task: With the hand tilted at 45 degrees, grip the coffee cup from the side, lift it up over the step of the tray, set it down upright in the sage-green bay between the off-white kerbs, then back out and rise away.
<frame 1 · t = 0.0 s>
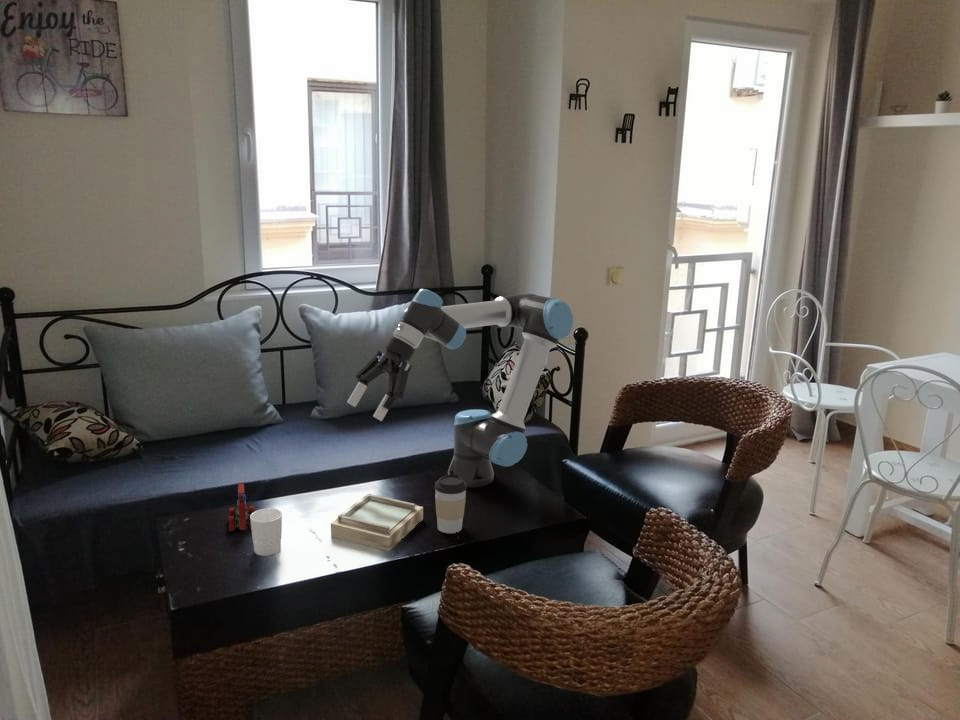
hand: (363, 411, 190), 36 cm above the table, tool tilted 35°, fingers open, 13 cm apart
coffee cup: (449, 528, 205), on the table
tray: (378, 527, 203), on the table
toy fire truck: (242, 525, 202), on the table
white cup: (267, 550, 190), on the table
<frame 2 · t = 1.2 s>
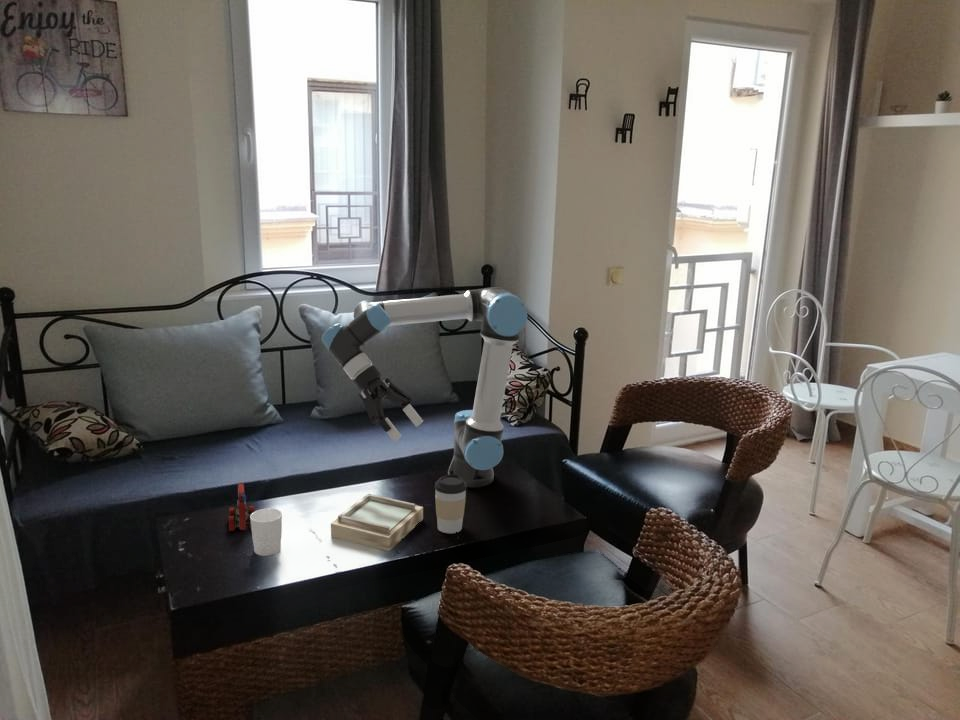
hand: (409, 431, 202), 27 cm above the table, tool tilted 45°, fingers open, 13 cm apart
nothing on the table moved.
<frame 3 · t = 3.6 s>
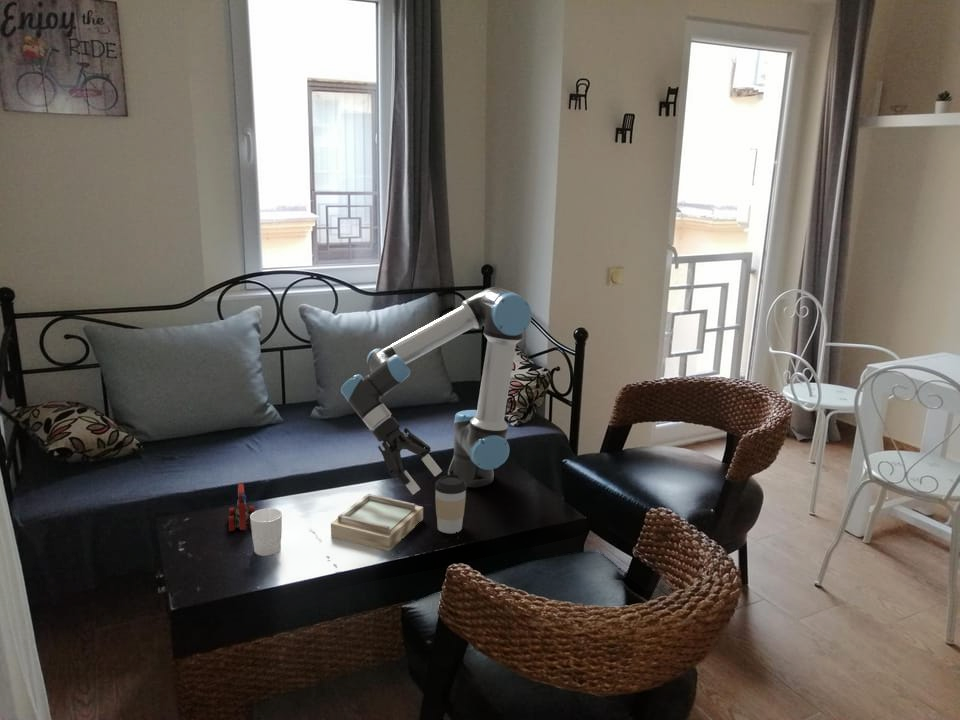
hand: (428, 482, 203), 13 cm above the table, tool tilted 45°, fingers open, 13 cm apart
nothing on the table moved.
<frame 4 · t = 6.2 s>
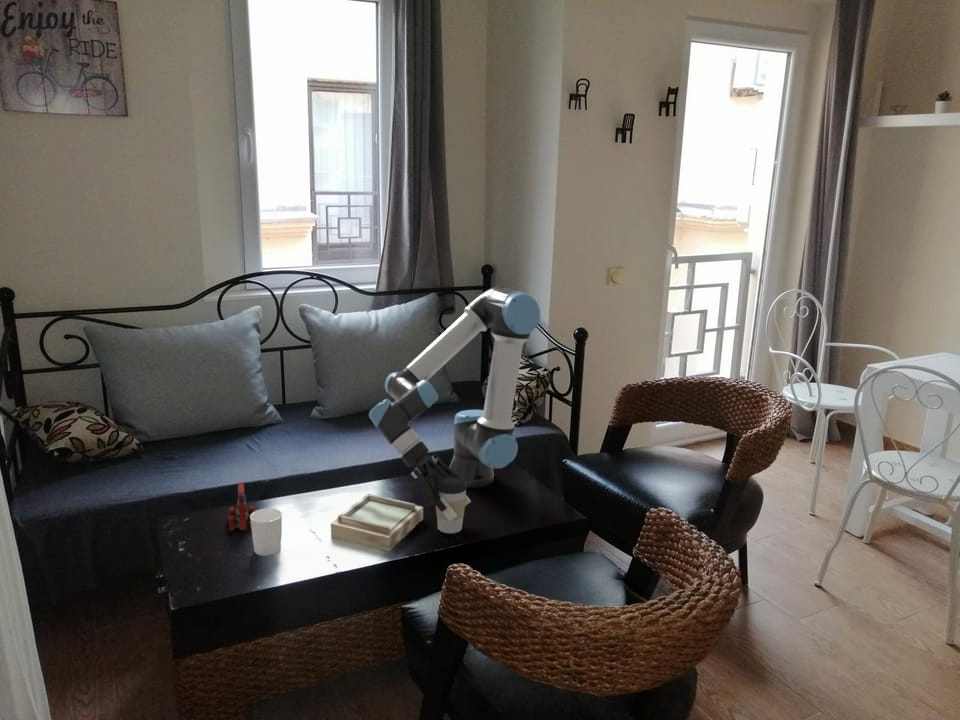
hand: (460, 511, 202), 6 cm above the table, tool tilted 45°, fingers closed on coffee cup, 9 cm apart
coffee cup: (449, 528, 205), on the table, touching gripper
everything else where it was.
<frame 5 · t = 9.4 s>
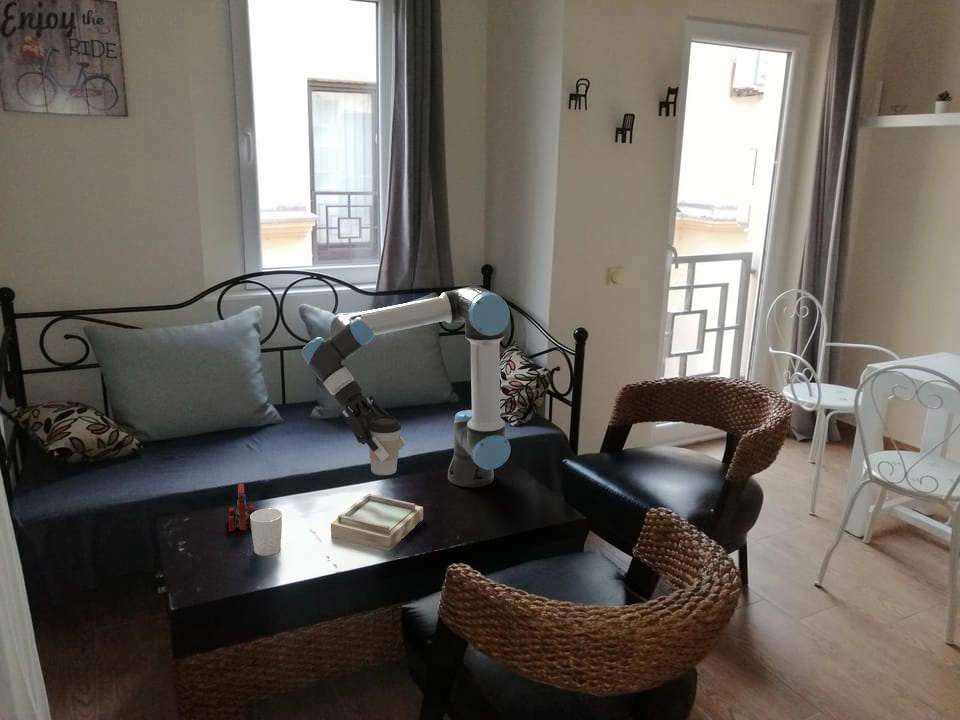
hand: (394, 452, 196), 23 cm above the table, tool tilted 45°, fingers closed on coffee cup, 9 cm apart
coffee cup: (383, 470, 198), point 17 cm above the table, touching gripper
everything else where it was.
when the fingers open (12 cm above the table, at t = 12.8 s): coffee cup drops 1 cm, resting on tray.
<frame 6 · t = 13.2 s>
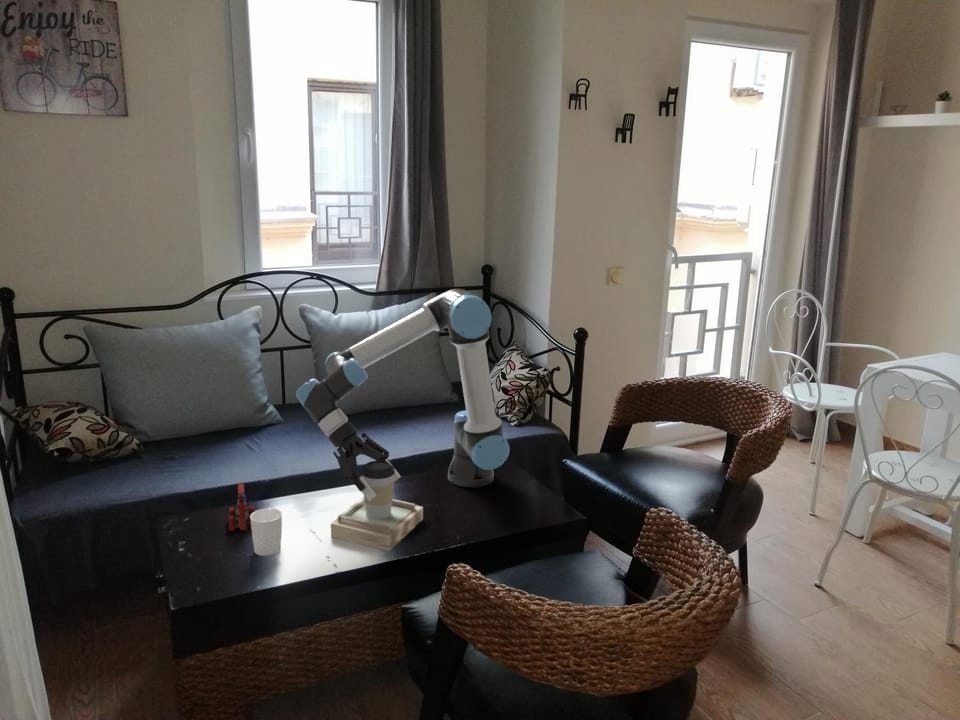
hand: (385, 488, 199), 12 cm above the table, tool tilted 45°, fingers open, 13 cm apart
coffee cup: (378, 514, 202), point 4 cm above the table, touching tray
everything else where it was.
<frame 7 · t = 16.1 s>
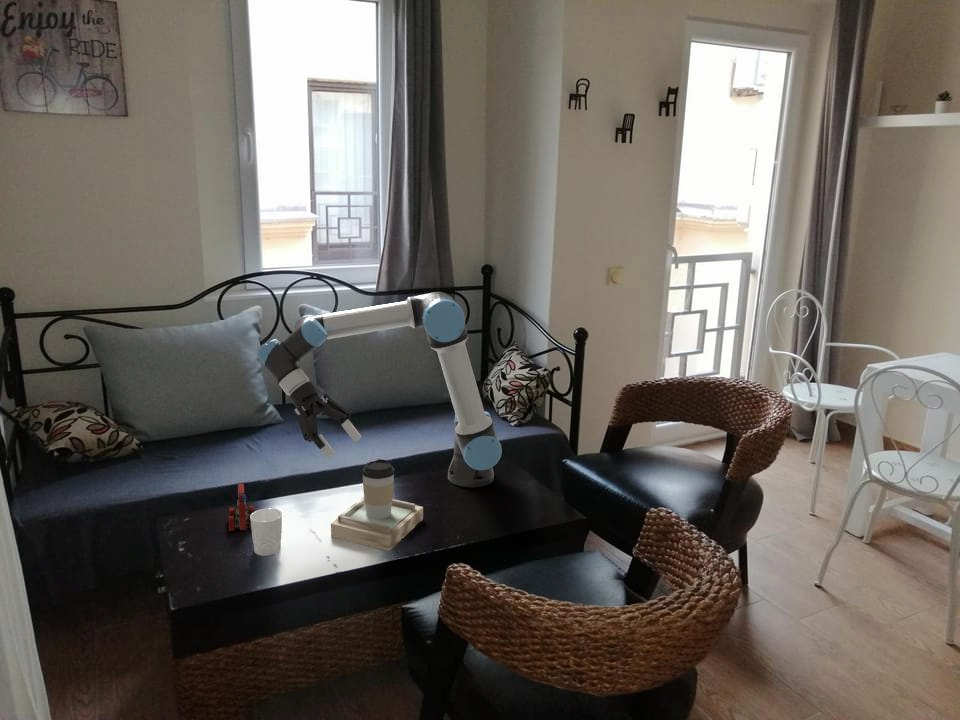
hand: (345, 447, 201), 22 cm above the table, tool tilted 45°, fingers open, 13 cm apart
nothing on the table moved.
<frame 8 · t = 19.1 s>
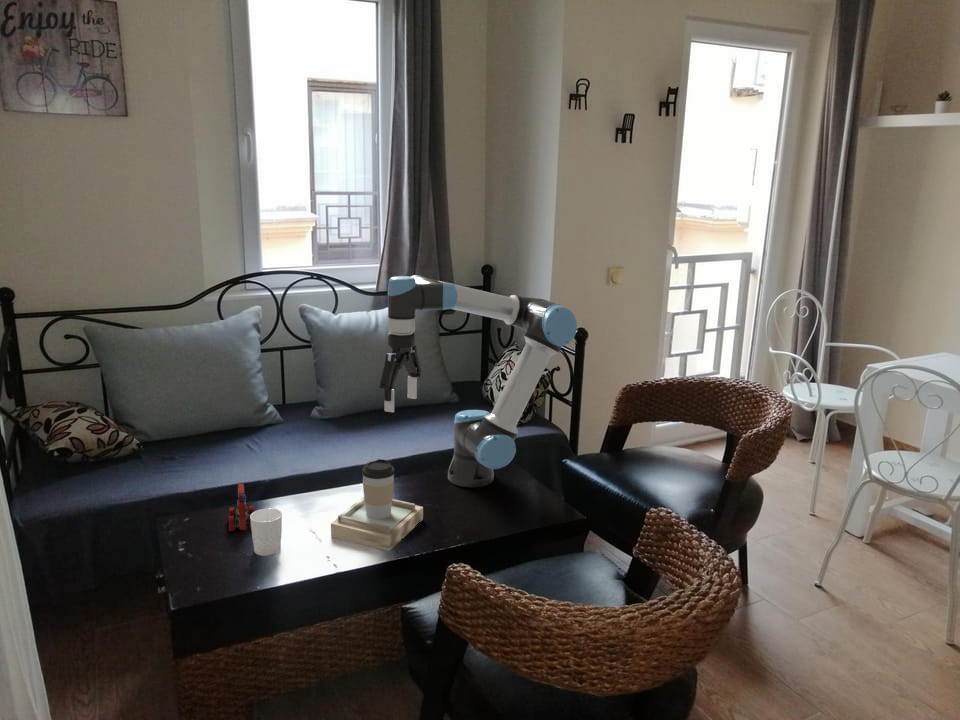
hand: (401, 404, 206), 33 cm above the table, tool pointing down, fingers open, 13 cm apart
nothing on the table moved.
at the end: coffee cup inside the target area on the tray (0.9 cm from its centre), point 4.1 cm above the tray's base; coffee cup tilted 0°; the gripper is holding nothing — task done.
